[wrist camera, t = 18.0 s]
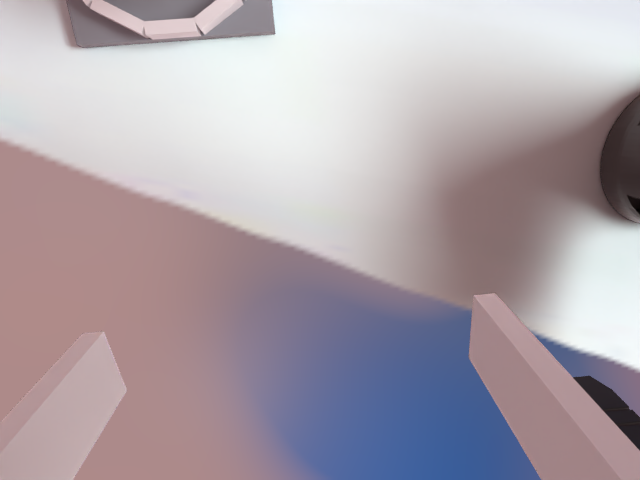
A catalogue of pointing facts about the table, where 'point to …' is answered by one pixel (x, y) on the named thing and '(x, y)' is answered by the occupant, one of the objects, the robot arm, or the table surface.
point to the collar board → (166, 20)
